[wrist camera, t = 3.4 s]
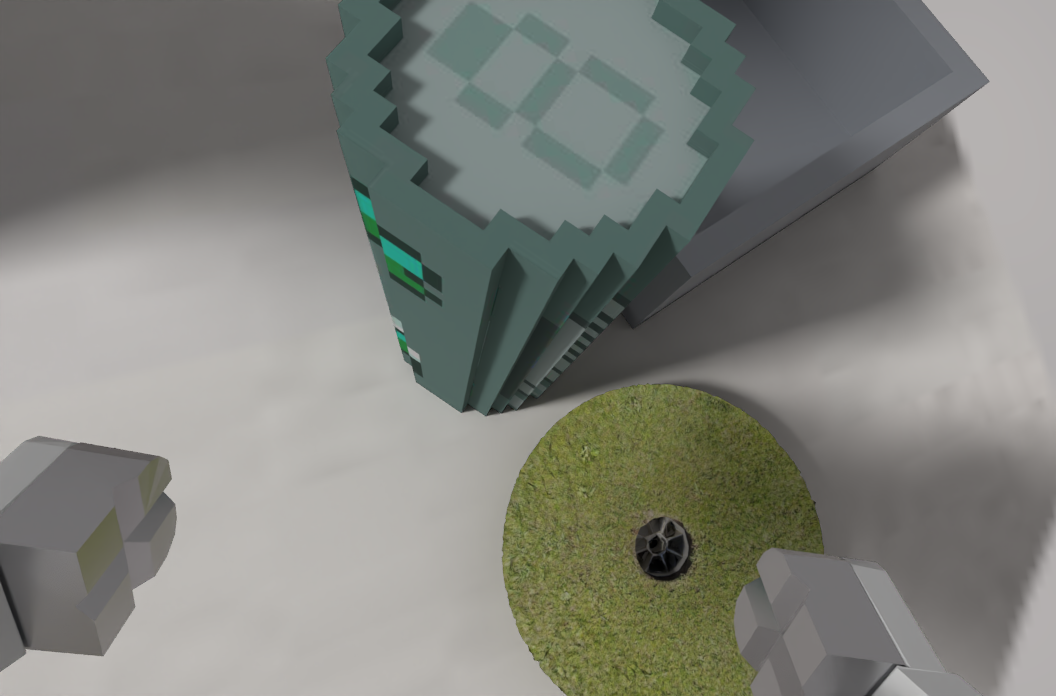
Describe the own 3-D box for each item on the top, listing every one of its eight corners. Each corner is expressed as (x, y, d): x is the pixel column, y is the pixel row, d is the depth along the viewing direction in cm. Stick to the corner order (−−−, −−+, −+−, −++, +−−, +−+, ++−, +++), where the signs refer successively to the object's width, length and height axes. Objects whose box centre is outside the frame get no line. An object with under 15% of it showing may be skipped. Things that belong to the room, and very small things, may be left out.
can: (465, 228, 24) (495, -159, 10) (592, 314, 24) (811, 50, 10) (370, 351, 23) (243, 102, 8) (506, 443, 23) (617, 354, 8)
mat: (620, 333, 24) (635, 320, 22) (847, 518, 24) (882, 520, 22) (431, 571, 21) (429, 579, 19) (685, 788, 21) (710, 817, 19)
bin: (440, 58, 26) (439, -67, 20) (691, -64, 29) (752, -201, 24) (632, 329, 24) (691, 277, 19) (875, 167, 28) (989, 81, 22)
